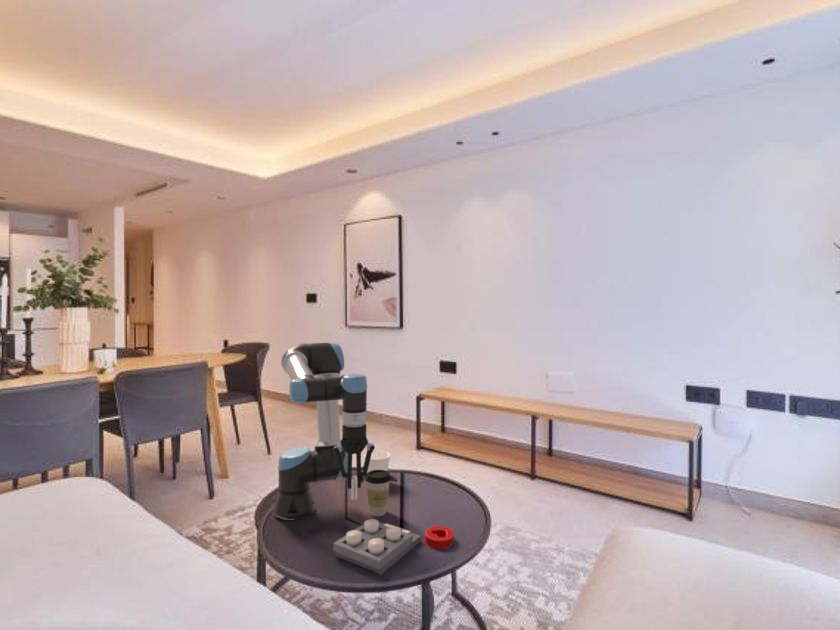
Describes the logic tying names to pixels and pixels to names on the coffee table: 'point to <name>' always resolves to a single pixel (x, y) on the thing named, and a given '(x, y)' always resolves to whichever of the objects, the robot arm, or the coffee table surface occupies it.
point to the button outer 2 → (393, 534)
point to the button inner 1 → (353, 538)
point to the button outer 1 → (376, 546)
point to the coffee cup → (377, 491)
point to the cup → (379, 460)
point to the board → (374, 562)
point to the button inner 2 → (371, 526)
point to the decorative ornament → (439, 537)
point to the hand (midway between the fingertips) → (354, 497)
